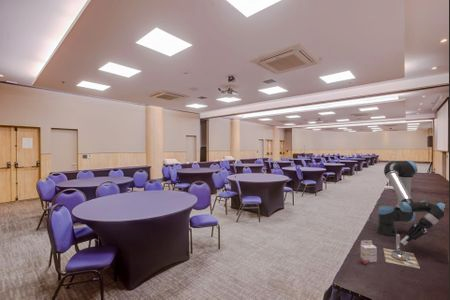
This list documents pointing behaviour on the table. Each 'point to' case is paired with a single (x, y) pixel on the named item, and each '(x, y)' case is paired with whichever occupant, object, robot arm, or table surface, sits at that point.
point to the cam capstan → (399, 253)
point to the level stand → (411, 262)
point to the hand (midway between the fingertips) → (402, 243)
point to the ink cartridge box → (368, 252)
